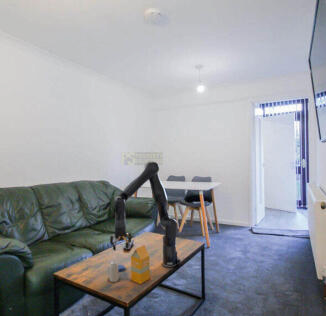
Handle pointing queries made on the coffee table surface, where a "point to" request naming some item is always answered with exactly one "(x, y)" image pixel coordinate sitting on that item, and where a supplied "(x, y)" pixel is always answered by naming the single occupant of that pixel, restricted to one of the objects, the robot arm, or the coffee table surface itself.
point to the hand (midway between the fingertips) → (120, 249)
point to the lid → (121, 267)
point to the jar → (113, 271)
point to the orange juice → (140, 265)
